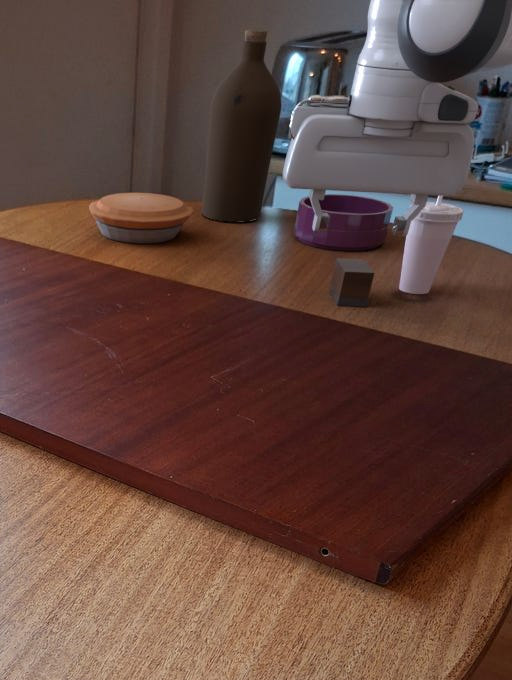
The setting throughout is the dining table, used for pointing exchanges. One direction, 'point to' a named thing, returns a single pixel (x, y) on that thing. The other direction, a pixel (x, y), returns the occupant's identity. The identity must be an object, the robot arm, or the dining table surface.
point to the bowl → (345, 222)
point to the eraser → (351, 282)
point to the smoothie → (427, 245)
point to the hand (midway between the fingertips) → (358, 232)
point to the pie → (140, 217)
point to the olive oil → (241, 136)
